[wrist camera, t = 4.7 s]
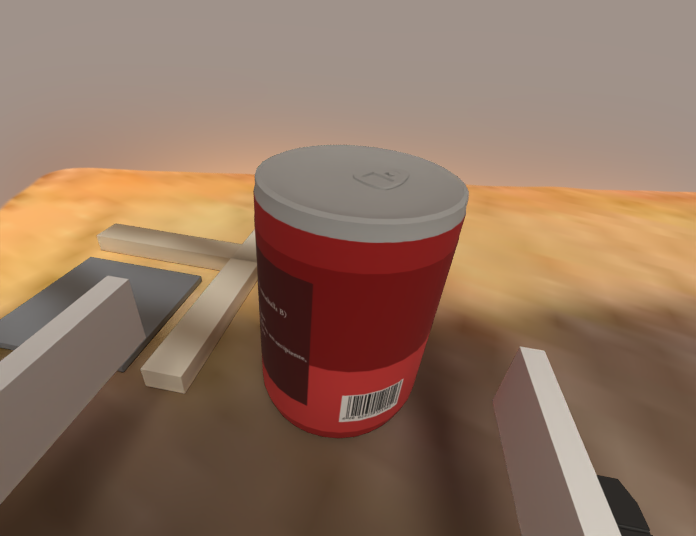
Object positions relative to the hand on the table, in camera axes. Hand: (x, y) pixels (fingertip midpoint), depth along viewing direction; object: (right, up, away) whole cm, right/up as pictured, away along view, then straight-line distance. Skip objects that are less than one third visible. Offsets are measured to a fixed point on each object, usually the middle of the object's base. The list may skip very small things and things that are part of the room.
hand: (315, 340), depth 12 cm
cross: (-6, +3, +14) cm, 16 cm away
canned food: (+1, -3, +7) cm, 8 cm away
